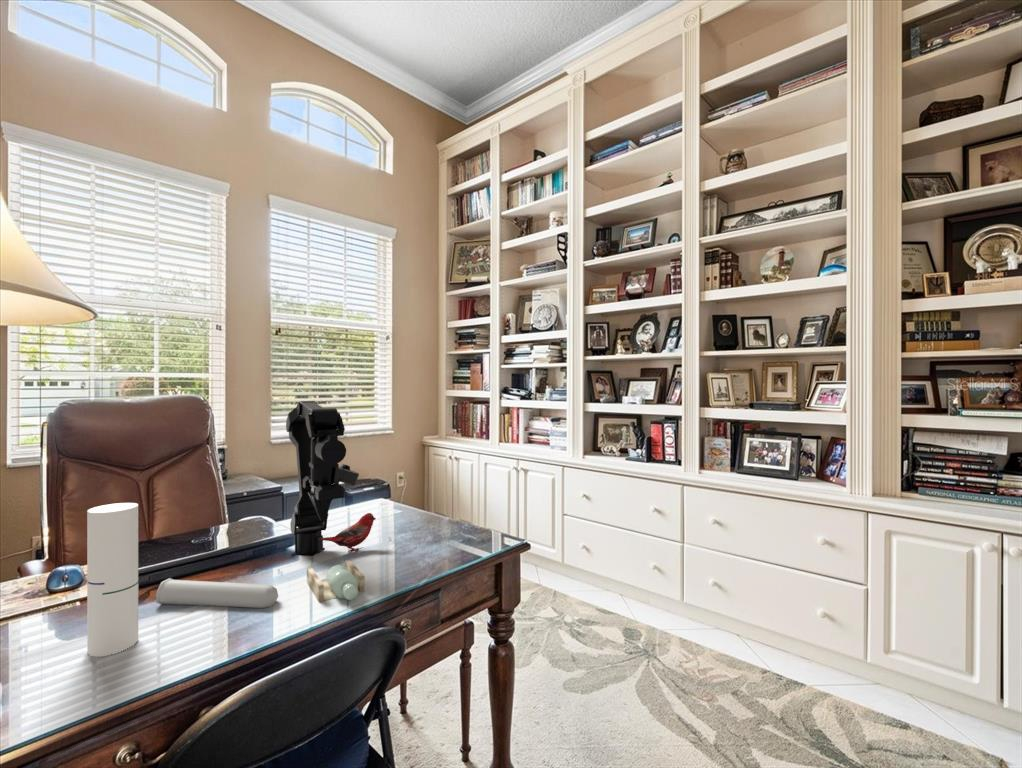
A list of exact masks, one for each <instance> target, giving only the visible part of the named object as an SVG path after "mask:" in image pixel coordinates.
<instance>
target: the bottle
mask: <svg viewBox="0 0 1022 768" xmlns="http://www.w3.org/2000/svg"><path fill="white" fill-rule="evenodd" d="M325 575H326V576H325V579H326V581H327V583H328V585H329V586H330V587H331V589H332V590H333V591H334V593H335V594H336V596H337V597H339V598H338V599H341V600H349V601H351V600H354V599H355V598H357V595H358V594H359V593H358V589H357V588H358V581H357V579H356V578H355V577H354V576H353V575H352V574H351V572H350V571H349V570H348V569H347V568H346V567H345V565H343V564H336V565H334V566H331V568H329V570H328V571H327V573H326V574H325Z"/></svg>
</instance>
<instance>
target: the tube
mask: <svg viewBox="0 0 1022 768" xmlns="http://www.w3.org/2000/svg"><path fill="white" fill-rule="evenodd" d="M278 592H279V591H278V589H277V588H276V587H275V586H273V585H271V584H265V583H246V582H244V583H242V582H228V581H227V582H226V581H208V580H207V581H204V580H188V579H187V580H186V579H185V580H184V579H183V580H182V579H173V578H171V577H169V578H167V579H165V580H163V581H160V584H159V586H158V589H157V590H156V592H155V594H156V596H155V601H156V602H155V603H156V604H159V605H161V604H164V605H178V604H186V605H185V606H197V605H204V606H203V607H205V606H216V607H235V608H238V607H239V608H253V609H254V608H255V609H256V608H257V609H266V608H270V607H273V606H274V604H275V603H276V602H277V600H278V599H279V593H278ZM165 603H166V604H165Z"/></svg>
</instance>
